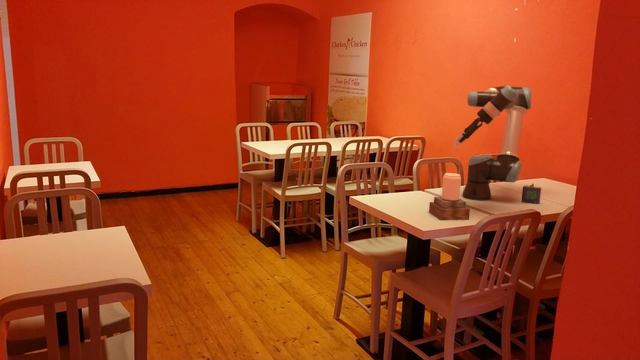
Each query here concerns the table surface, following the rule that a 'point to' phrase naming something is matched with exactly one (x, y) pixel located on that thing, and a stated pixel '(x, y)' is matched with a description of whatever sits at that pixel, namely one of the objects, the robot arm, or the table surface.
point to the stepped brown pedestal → (449, 209)
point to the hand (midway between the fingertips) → (454, 144)
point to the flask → (531, 194)
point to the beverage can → (451, 186)
